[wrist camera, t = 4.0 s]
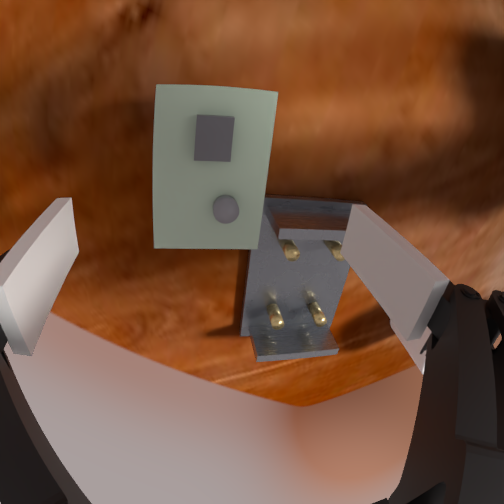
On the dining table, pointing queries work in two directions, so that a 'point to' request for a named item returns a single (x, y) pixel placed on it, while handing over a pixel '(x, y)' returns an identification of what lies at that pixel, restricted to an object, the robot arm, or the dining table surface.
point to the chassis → (295, 277)
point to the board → (210, 165)
